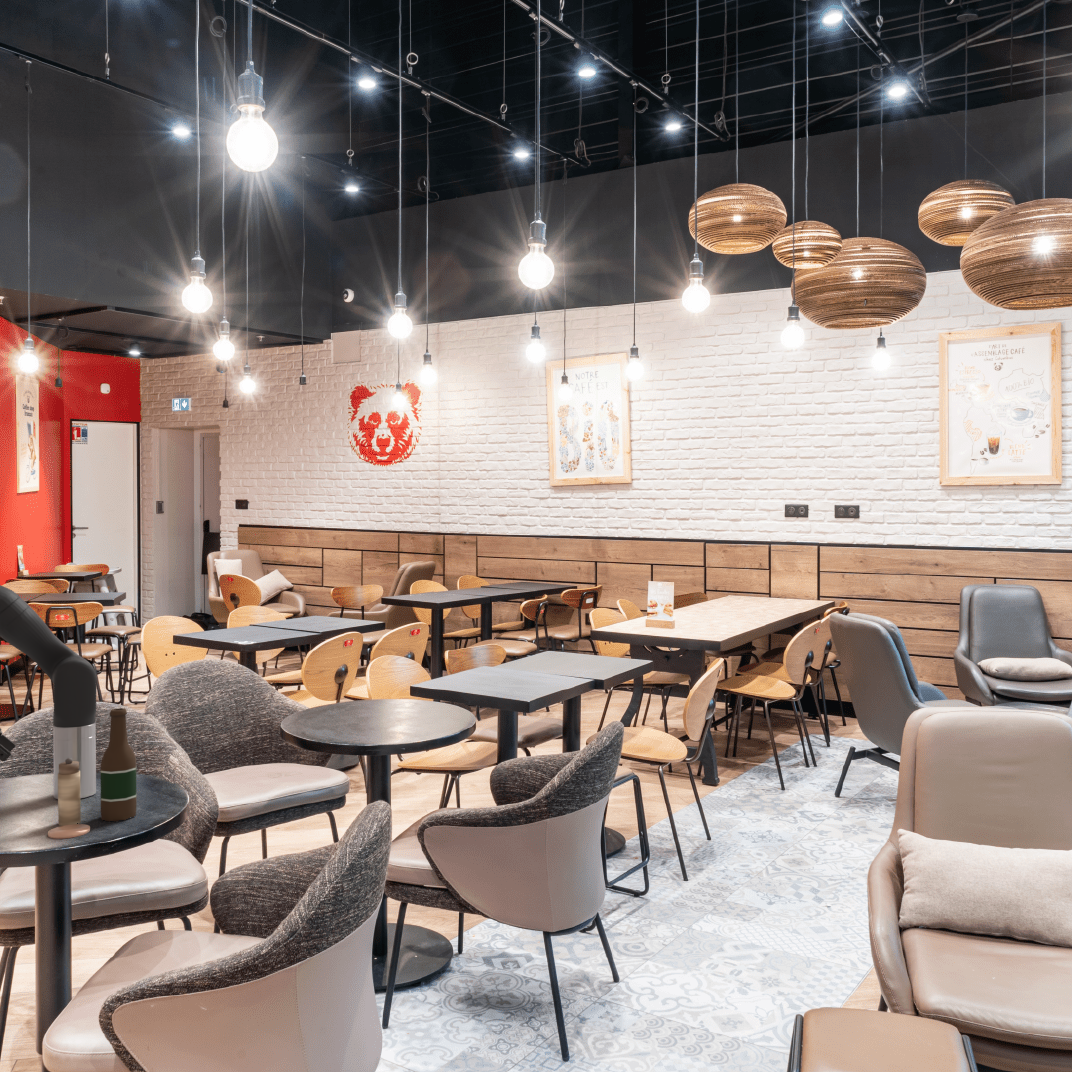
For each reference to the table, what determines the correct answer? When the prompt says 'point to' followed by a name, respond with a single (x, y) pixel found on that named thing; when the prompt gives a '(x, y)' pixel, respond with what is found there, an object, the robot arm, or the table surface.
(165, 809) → the table surface
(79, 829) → the saucer
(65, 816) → the pepper mill
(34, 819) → the table surface
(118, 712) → the beer bottle
